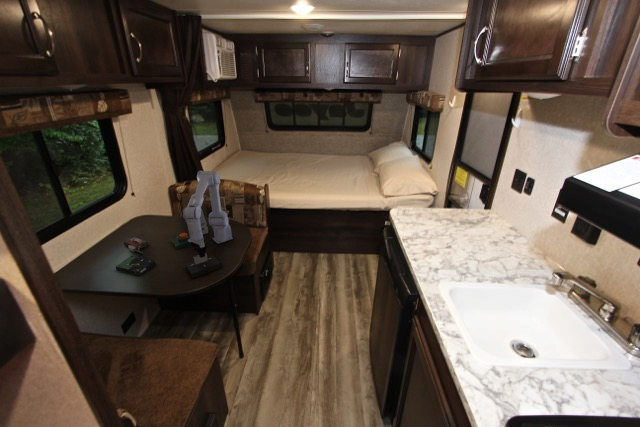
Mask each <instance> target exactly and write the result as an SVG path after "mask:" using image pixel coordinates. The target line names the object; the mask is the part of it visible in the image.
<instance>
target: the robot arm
mask: <svg viewBox="0 0 640 427" xmlns="http://www.w3.org/2000/svg"><path fill="white" fill-rule="evenodd" d="M196 179H197V180H196V181H197V185H196V189H195V193H193V194H191V196H190V198H189V202H188V204H187V206H186V207H184V208H183V210H182V217H183V219H184V221H185V223H186V224H187V225H186V226H187V229H188V234H189V235H190V238H189V239H188V242H190V243H191V244H192V245H191V247H192V249H193V250H194V252H197V253H198V254H197V255H199V256H200V258H203V257H205V253H206V250H207V248H208V244H207V243H205V242H204V236H203V235H204V234H203V235H202V229H201V224H200V216H201V207H202V205H203V203H204V200H205V198H204V195H205V192H206V190H207V188H208V191H209V198H210V203H211V204H210V206H211V212H210V213H209V214H208V225H209V226H210V227H211V228H212V229H213V236H214V237H212V240H213V241H214V242H215V243H216V244H217V245H219V244H222V243H225V242H228V241H231V240H233V239H234V237H233V234H232V233H233V232H232V228H231V225H230V224H229V217H228V214H227V212H226V211H224V210H223V209H222V205H221V197H220V189H219V188H220V187H219V185H220V184H221V176H220V172H219V171H217V170H215V171H213V170H198V171H197V173H196Z"/></svg>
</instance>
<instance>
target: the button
mask: <svg viewBox="0 0 640 427" xmlns="http://www.w3.org/2000/svg"><path fill="white" fill-rule="evenodd" d="M187 234H188V233H187V232H182V233H180V234H178V236H180V238H181V239H184V238H186V237H187Z"/></svg>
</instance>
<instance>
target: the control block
mask: <svg viewBox="0 0 640 427" xmlns="http://www.w3.org/2000/svg"><path fill="white" fill-rule="evenodd" d="M189 238H190V235H189V233H187V237H186V238H184V239H181V238H180V236H179V235H178V236H177V237H174V238H171V239H170V242H171V244H172V246H174V248H175V249H176V250H179V249H182V248H186V247H189V246H192V244H191V243H190V242H188V239H189Z"/></svg>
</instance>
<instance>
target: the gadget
mask: <svg viewBox="0 0 640 427" xmlns="http://www.w3.org/2000/svg"><path fill="white" fill-rule="evenodd" d="M207 259H208V260H207V261H204V262H202V263H199V264H195V262H194V260H193V261H190V262H188V263H185V264H184V266H185V270H186V271H187V272H188V274H189V275H190V277H191V278H192V279H196V278H198V277H201V276H203V275H206V274H209V273H211V272H214V271H216V270H219V269H221V268H222V265H221V262H220V261H219V260H218V259H217V257H215V256H214V254H210V255H207Z"/></svg>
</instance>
